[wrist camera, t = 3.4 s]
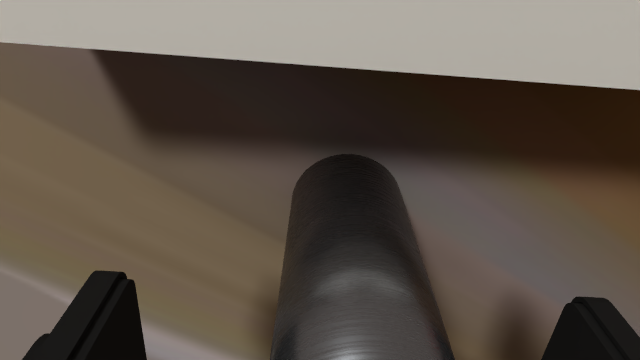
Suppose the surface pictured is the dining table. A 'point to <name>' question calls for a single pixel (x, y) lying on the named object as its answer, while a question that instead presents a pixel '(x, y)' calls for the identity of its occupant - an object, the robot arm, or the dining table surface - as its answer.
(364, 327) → the metal pin
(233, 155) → the dining table surface
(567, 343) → the robot arm
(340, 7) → the bore block
